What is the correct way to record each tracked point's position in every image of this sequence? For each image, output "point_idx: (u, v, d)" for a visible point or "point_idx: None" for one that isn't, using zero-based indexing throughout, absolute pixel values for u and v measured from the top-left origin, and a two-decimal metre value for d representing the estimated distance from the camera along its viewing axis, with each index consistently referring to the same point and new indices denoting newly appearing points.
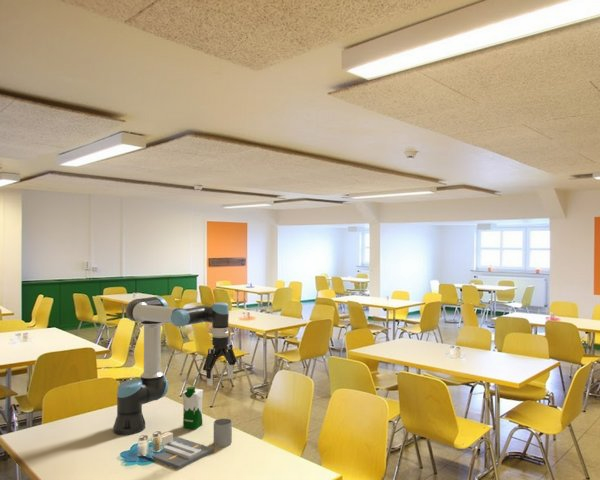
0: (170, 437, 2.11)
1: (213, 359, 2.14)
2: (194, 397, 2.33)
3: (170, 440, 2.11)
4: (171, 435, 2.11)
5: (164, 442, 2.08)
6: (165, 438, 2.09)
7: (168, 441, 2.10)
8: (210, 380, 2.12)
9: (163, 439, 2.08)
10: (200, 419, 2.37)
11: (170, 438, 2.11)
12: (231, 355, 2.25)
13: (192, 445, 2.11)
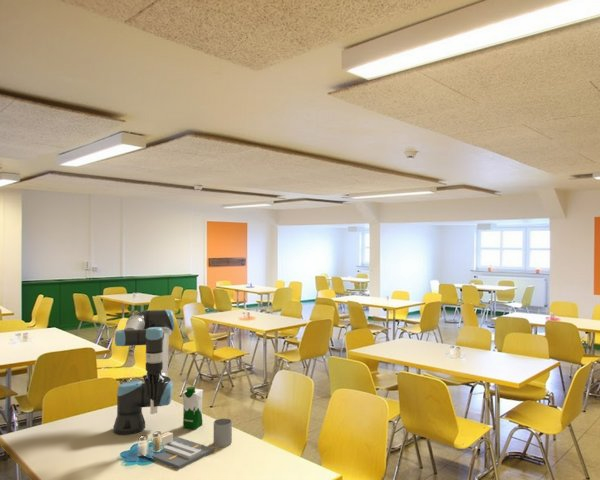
0: (170, 437, 2.11)
1: None
2: (194, 397, 2.33)
3: (170, 440, 2.11)
4: (171, 435, 2.11)
5: (164, 442, 2.08)
6: (165, 438, 2.09)
7: (168, 441, 2.10)
8: None
9: (163, 439, 2.08)
10: (200, 419, 2.37)
11: (170, 438, 2.11)
12: None
13: (192, 445, 2.11)
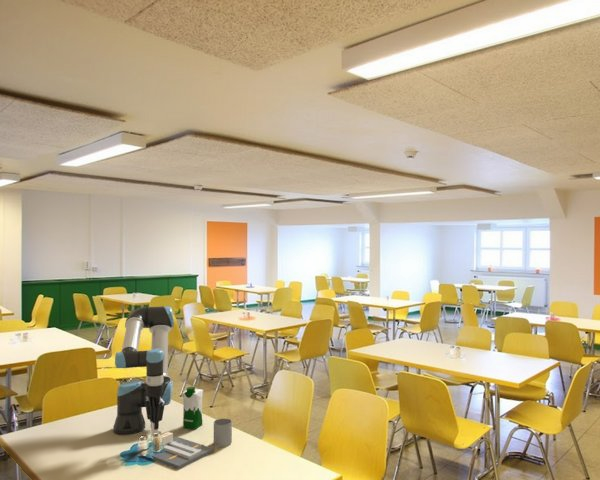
0: (170, 437, 2.11)
1: None
2: (194, 397, 2.33)
3: (170, 440, 2.11)
4: (171, 435, 2.11)
5: (164, 442, 2.08)
6: (165, 438, 2.09)
7: (168, 441, 2.10)
8: None
9: (163, 439, 2.08)
10: (200, 419, 2.37)
11: (170, 438, 2.11)
12: None
13: (192, 445, 2.11)
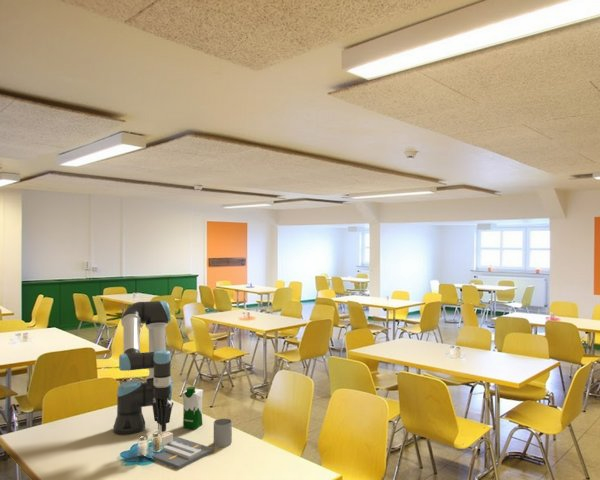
0: (170, 437, 2.11)
1: None
2: (194, 397, 2.33)
3: (170, 440, 2.11)
4: (171, 435, 2.11)
5: (164, 442, 2.08)
6: (165, 438, 2.08)
7: (168, 441, 2.10)
8: None
9: (163, 439, 2.08)
10: (200, 419, 2.37)
11: (170, 438, 2.11)
12: None
13: (192, 445, 2.11)
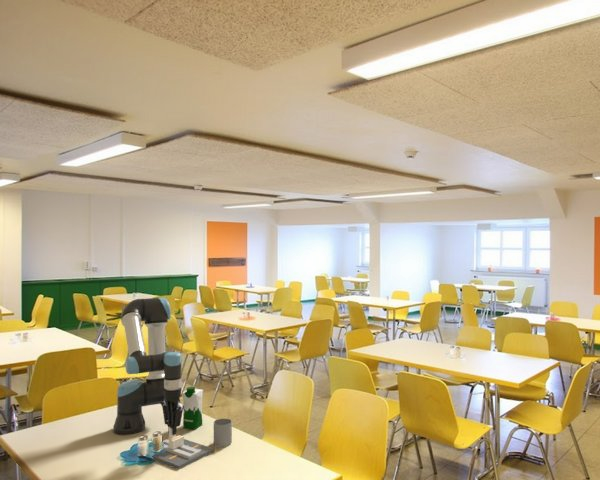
0: (181, 440, 2.07)
1: None
2: (194, 397, 2.33)
3: (181, 444, 2.07)
4: (182, 438, 2.07)
5: (175, 446, 2.04)
6: (176, 442, 2.05)
7: (179, 445, 2.06)
8: None
9: (174, 443, 2.04)
10: (200, 419, 2.37)
11: (181, 442, 2.07)
12: None
13: (192, 445, 2.11)
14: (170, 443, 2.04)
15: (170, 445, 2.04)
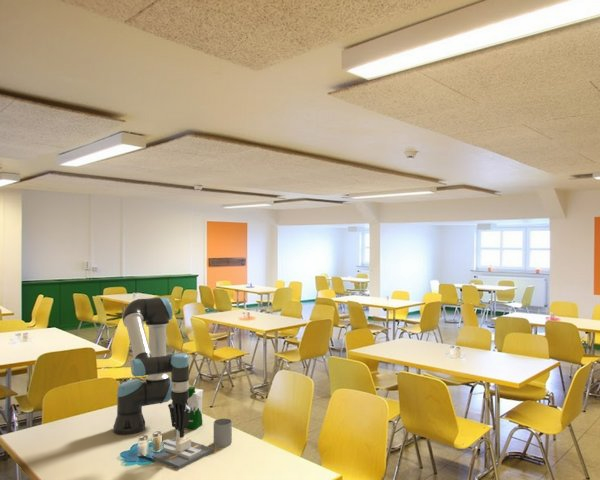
0: (188, 443, 2.04)
1: None
2: (194, 397, 2.33)
3: (188, 446, 2.04)
4: (189, 441, 2.05)
5: (182, 448, 2.02)
6: (183, 444, 2.02)
7: (186, 447, 2.03)
8: None
9: (181, 445, 2.01)
10: (200, 419, 2.37)
11: (188, 444, 2.04)
12: None
13: (192, 445, 2.11)
14: (177, 445, 2.02)
15: (177, 447, 2.02)
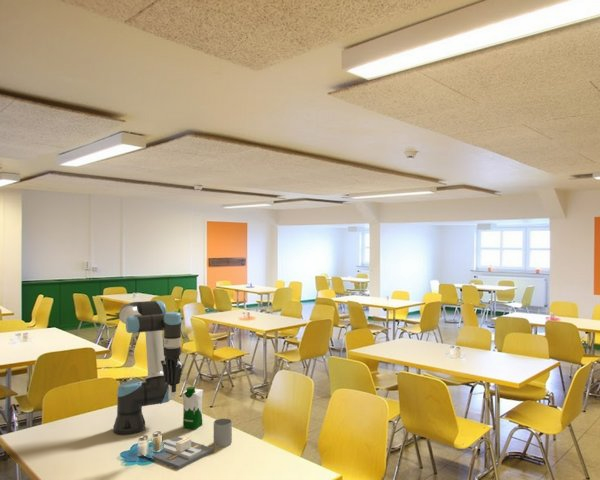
0: (188, 443, 2.04)
1: None
2: (194, 397, 2.33)
3: (188, 446, 2.04)
4: (189, 441, 2.05)
5: (182, 448, 2.02)
6: (183, 444, 2.02)
7: (186, 447, 2.03)
8: None
9: (181, 445, 2.01)
10: (200, 419, 2.37)
11: (188, 444, 2.04)
12: None
13: (192, 445, 2.11)
14: (177, 446, 2.02)
15: (177, 448, 2.02)
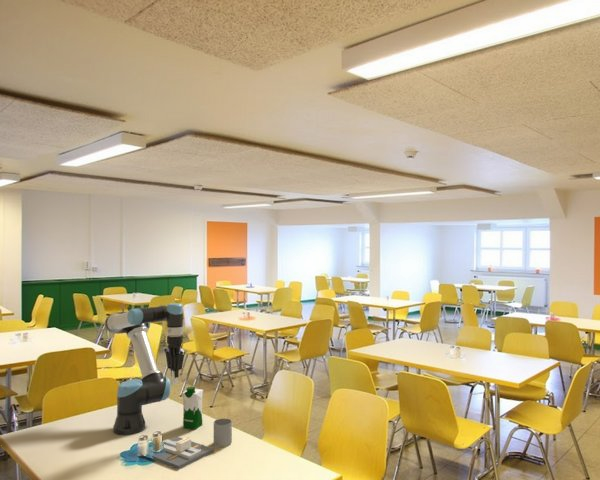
0: (188, 443, 2.04)
1: None
2: (194, 397, 2.33)
3: (188, 446, 2.04)
4: (189, 441, 2.05)
5: (182, 448, 2.02)
6: (183, 444, 2.02)
7: (186, 447, 2.03)
8: None
9: (181, 445, 2.01)
10: (200, 419, 2.37)
11: (188, 444, 2.04)
12: None
13: (192, 445, 2.11)
14: (177, 446, 2.02)
15: (177, 448, 2.02)
